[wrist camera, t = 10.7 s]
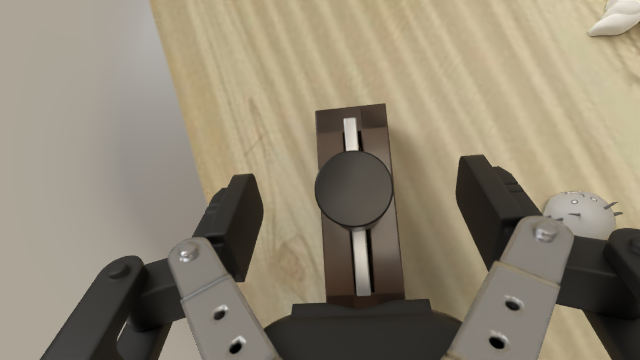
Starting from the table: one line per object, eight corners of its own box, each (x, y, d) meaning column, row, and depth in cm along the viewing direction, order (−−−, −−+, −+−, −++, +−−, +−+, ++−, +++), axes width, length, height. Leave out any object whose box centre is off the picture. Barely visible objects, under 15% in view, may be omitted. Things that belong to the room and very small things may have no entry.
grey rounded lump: (524, 202, 19) (549, 196, 17) (594, 183, 19) (629, 174, 17) (546, 255, 19) (574, 258, 16) (619, 237, 19) (659, 236, 16)
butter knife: (386, 278, 20) (406, 315, 10) (342, 281, 20) (321, 317, 10) (374, 149, 21) (382, 71, 12) (333, 153, 22) (308, 80, 12)
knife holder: (401, 310, 19) (407, 322, 16) (333, 312, 20) (327, 325, 17) (382, 121, 22) (385, 102, 19) (321, 128, 22) (314, 110, 19)
